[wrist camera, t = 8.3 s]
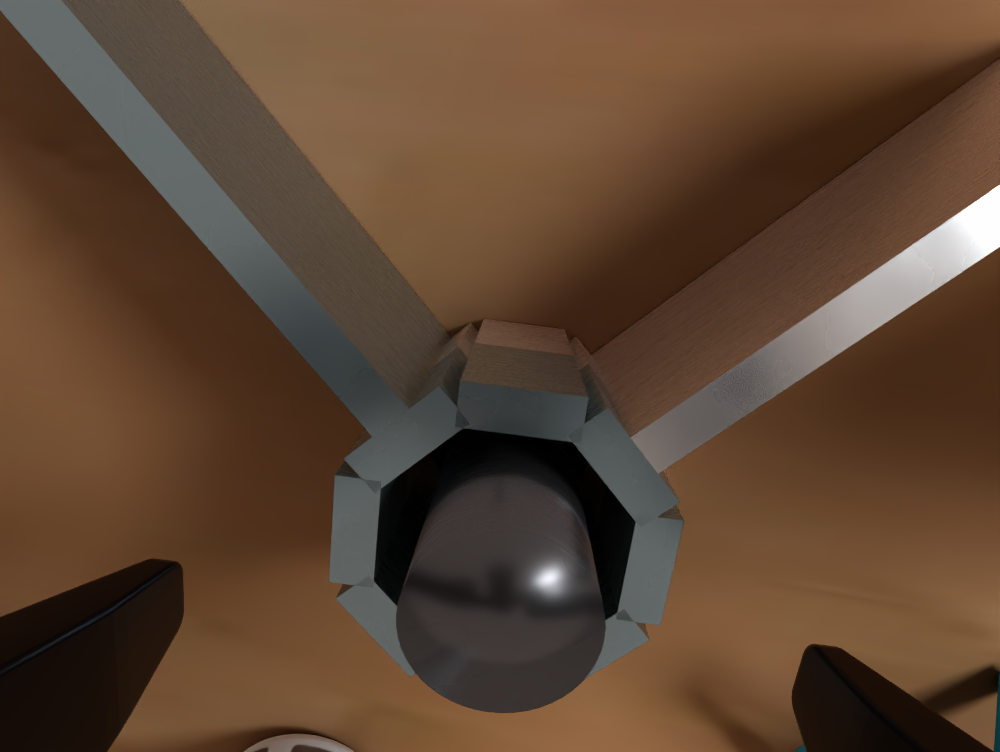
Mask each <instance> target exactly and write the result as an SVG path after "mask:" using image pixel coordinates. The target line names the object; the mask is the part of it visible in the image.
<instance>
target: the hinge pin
mask: <svg viewBox="0 0 1000 752" xmlns="http://www.w3.org/2000/svg"><path fill="white" fill-rule="evenodd" d="M396 629H397V636H398V640H399V643H400V646H401V649H402V651H403V654H404V656H405V658H406V660H407V661H408V663H409V665H410V666H411V668H412V669H413V670H414V672H415V673H416V674H417V675H418V676H419V678H420V679H421V680H422V681H423V682H425V683H426V684H427V685H428V686H429V687H430V688H431V689H433V690H434V691H436V692H437V693H438V694H440V695H441V696H443V697H445V698H447V699H449V700H450V701H453V702H455V703H457V704H460V705H462V706H465V707H468V708H472V709H475V710H480V711H486V712H495V713H515V712H522V711H528V710H532V709H536V708H540V707H542V706H545V705H548V704H550V703H553V702H555V701H556V700H558V699H560V698H562V697H564V696H565V695H567V694H568V693H570V692H571V691H572V690H574V689H575V688H576V687H577V686H578V685H579V684H580V683H582V682H583V680H584V679H585V678H586V677H587V676H588V674H589V673H590V672H591V670H592V669H593V667H594V666H595V664H596V662H597V660H598V658H599V656H600V653H601V651H602V647H603V643H604V639H605V630H606V623H605V613H604V608H603V603H602V598H601V593H600V588H599V583H598V578H597V573H596V568H595V563H594V558H593V553H592V548H591V543H590V538H589V533H588V528H587V523H586V518H585V513H584V508H583V503H582V498H581V493H580V488H579V483H578V478H577V473H576V468H575V463H574V458H573V453H572V448H571V443H570V442H567V441H560V440H552V439H544V438H536V437H529V436H521V435H513V434H505V433H498V432H490V431H482V430H474V429H467V428H463V429H461V430H460V431H458V432H457V433H456V434H454V435H453V436H452V439H451V442H450V445H449V448H448V451H447V454H446V457H445V460H444V463H443V466H442V469H441V472H440V475H439V478H438V481H437V484H436V487H435V490H434V494H433V497H432V500H431V503H430V506H429V509H428V512H427V515H426V518H425V521H424V524H423V527H422V530H421V533H420V536H419V539H418V542H417V545H416V548H415V552H414V555H413V558H412V561H411V564H410V567H409V570H408V573H407V576H406V579H405V582H404V585H403V588H402V591H401V594H400V597H399V600H398V605H397V611H396Z"/></svg>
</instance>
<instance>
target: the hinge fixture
mask: <svg viewBox="0 0 1000 752" xmlns="http://www.w3.org/2000/svg"><path fill="white" fill-rule="evenodd" d="M0 11H1V12H2V13H3V14H4V15H5V17H6V18H7V19H8V20H9V21H10V22H11V23H12V25H13V26H14V27H15V28H16V29H17V30H18V31H19V33H20V34H21V35H22V36H23V37H24V38H25V40H26V41H27V42H28V43H29V44H30V45H31V46H32V48H33V49H34V50H35V51H36V52H37V53H38V54H39V56H40V57H41V58H42V59H43V60H44V61H45V62H46V64H47V65H48V66H49V67H50V68H51V69H52V70H53V72H54V73H55V74H56V75H57V76H58V77H59V78H60V80H61V81H62V82H63V83H64V84H65V85H66V86H67V88H68V89H69V90H70V91H71V92H72V93H73V94H74V96H75V97H76V98H77V99H78V100H79V101H80V103H81V104H82V105H83V106H84V107H85V108H86V109H87V111H88V112H89V113H90V114H91V115H92V116H93V117H94V119H95V120H96V121H97V122H98V123H99V124H100V125H101V127H102V128H103V129H104V130H105V131H106V132H107V133H108V135H109V136H110V137H111V138H112V139H113V140H114V141H115V143H116V144H117V145H118V146H119V147H120V148H121V149H122V151H123V152H124V153H125V154H126V155H127V156H128V157H129V159H130V160H131V161H132V162H133V163H134V164H135V165H136V167H137V168H138V169H139V170H140V171H141V172H142V174H143V175H144V176H145V177H146V178H147V179H148V180H149V182H150V183H151V184H152V185H153V186H154V187H155V188H156V190H157V191H158V192H159V193H160V194H161V195H162V196H163V198H164V199H165V200H166V201H167V202H168V203H169V204H170V206H171V207H172V208H173V209H174V210H175V211H176V212H177V214H178V215H179V216H180V217H181V218H182V219H183V220H184V222H185V223H186V224H187V225H188V226H189V227H190V228H191V230H192V231H193V232H194V233H195V234H196V235H197V236H198V238H199V239H200V240H201V241H202V242H203V243H204V245H205V246H206V247H207V248H208V249H209V250H210V251H211V253H212V254H213V255H214V256H215V257H216V258H217V259H218V261H219V262H220V263H221V264H222V265H223V266H224V267H225V269H226V270H227V271H228V272H229V273H230V274H231V275H232V277H233V278H234V279H235V280H236V281H237V282H238V283H239V285H240V286H241V287H242V288H243V289H244V290H245V291H246V293H247V294H248V295H249V296H250V297H251V298H252V299H253V301H254V302H255V303H256V304H257V305H258V306H259V308H260V309H261V310H262V311H263V312H264V313H265V314H266V316H267V317H268V318H269V319H270V320H271V321H272V322H273V324H274V325H275V326H276V327H277V328H278V329H279V330H280V332H281V333H282V334H283V335H284V336H285V337H286V338H287V340H288V341H289V342H290V343H291V344H292V345H293V346H294V348H295V349H296V350H297V351H298V352H299V353H300V354H301V356H302V357H303V358H304V359H305V360H306V361H307V362H308V364H309V365H310V366H311V367H312V368H313V369H314V370H315V372H316V373H317V374H318V375H319V376H320V377H321V379H322V380H323V381H324V382H325V383H326V384H327V385H328V387H329V388H330V389H331V390H332V391H333V392H334V393H335V395H336V396H337V397H338V398H339V399H340V400H341V401H342V403H343V404H344V405H345V406H346V407H347V408H348V409H349V411H350V412H351V413H352V414H353V415H354V416H355V417H356V419H357V420H358V421H359V422H360V423H361V424H362V425H363V427H364V428H365V431H364V432H363V433H362V435H361V436H360V437H359V439H358V440H357V441H356V443H355V444H354V445H353V447H352V448H351V449H350V451H349V452H348V453H347V455H346V456H345V458H344V460H345V462H344V463H343V465H342V466H341V468H340V469H339V470H338V472H337V473H336V474H335V481H334V499H333V518H332V536H331V555H330V573H329V582H332V583H340V584H343V585H342V587H341V589H340V591H339V593H338V595H337V597H336V600H337V601H338V602H339V603H340V604H341V605H342V606H343V607H344V608H345V609H346V610H347V611H348V612H349V613H350V614H351V616H352V617H353V618H354V619H355V620H356V621H357V622H358V623H359V624H360V625H361V626H362V627H363V628H364V629H365V630H366V631H367V632H368V633H369V634H370V636H371V637H372V638H373V639H374V640H375V641H376V642H377V643H378V644H379V645H380V646H381V647H382V648H383V649H384V650H385V651H386V652H387V653H388V654H389V656H390V657H391V658H392V659H393V660H394V661H395V662H396V663H397V664H398V665H399V666H400V667H401V668H402V669H403V670H404V671H405V672H406V673H407V674H408V676H409V677H411V676H413V675H414V674H416V673H415V672H414V670H413V669H412V668H411V666H410V665H409V663H408V661H407V660H406V658H405V656H404V654H403V651H402V649H401V646H400V643H399V640H398V636H397V629H396V611H397V605H398V600H399V597H400V594H401V591H402V588H403V585H404V582H405V579H406V576H407V573H408V570H409V567H410V564H411V561H412V558H413V555H414V552H415V548H416V545H417V542H418V539H419V536H420V533H421V530H422V527H423V524H424V521H425V518H426V515H427V512H428V509H429V506H430V503H431V500H432V497H433V494H434V490H435V487H436V484H437V481H438V478H439V475H440V472H441V469H440V468H439V467H438V466H437V465H436V464H435V462H434V461H433V460H432V459H431V458H430V457H429V455H428V454H429V453H430V452H431V451H433V450H434V449H435V448H437V447H438V446H439V445H441V444H442V443H444V442H445V441H446V440H448V439H449V438H450V437H452V436H453V435H454V434H456V433H457V432H458V431H460V430H461V429H463V428H467V429H474V430H482V431H490V432H498V433H505V434H513V435H521V436H529V437H536V438H544V439H552V440H560V441H567V442H573V443H574V445H575V446H576V447H577V448H578V450H579V451H580V452H581V453H582V455H583V456H584V457H585V458H586V460H587V463H586V468H585V474H583V475H582V476H580V477H579V478H578V483H579V488H580V493H581V498H582V503H583V508H584V513H585V518H586V523H587V528H588V533H589V538H590V543H591V548H592V553H593V558H594V563H595V568H596V573H597V578H598V583H599V588H600V593H601V598H602V603H603V608H604V613H605V623H606V630H605V639H604V643H603V647H602V651H601V653H600V656H599V658H598V660H597V662H596V664H595V666H594V667H593V669H592V670H591V672H590V673H589V674H588V676H587V677H589V676H590V675H592V674H594V673H595V672H597V671H599V670H600V669H602V668H604V667H605V666H607V665H609V664H610V663H612V662H614V661H615V660H617V659H619V658H620V657H622V656H624V655H625V654H627V653H629V652H630V651H632V650H634V649H635V648H637V647H638V646H640V645H642V644H643V643H645V642H647V641H648V640H649V637H648V633H647V630H646V627H645V623H646V624H653V625H661V620H662V616H663V612H664V607H665V603H666V598H667V594H668V589H669V585H670V581H671V576H672V572H673V567H674V563H675V559H676V554H677V550H678V545H679V541H680V536H681V532H682V528H683V523H684V520H683V518H682V516H681V514H680V512H679V510H678V508H677V506H676V504H678V503H680V501H679V499H678V498H677V496H676V494H675V492H674V490H673V488H672V487H671V485H670V483H669V481H668V479H667V477H666V475H665V474H664V472H663V470H665V469H666V468H668V467H669V466H671V465H672V464H674V463H675V462H677V461H678V460H680V459H681V458H683V457H684V456H686V455H687V454H689V453H690V452H692V451H693V450H695V449H696V448H698V447H699V446H701V445H702V444H704V443H705V442H707V441H708V440H710V439H711V438H713V437H714V436H716V435H717V434H719V433H720V432H722V431H723V430H725V429H726V428H728V427H729V426H731V425H732V424H734V423H735V422H737V421H738V420H740V419H741V418H743V417H744V416H746V415H747V414H749V413H750V412H752V411H753V410H755V409H756V408H758V407H759V406H761V405H762V404H764V403H765V402H767V401H768V400H770V399H772V398H773V397H775V396H776V395H778V394H779V393H781V392H782V391H784V390H785V389H787V388H788V387H790V386H791V385H793V384H794V383H796V382H797V381H799V380H800V379H802V378H803V377H805V376H806V375H808V374H809V373H811V372H812V371H814V370H815V369H817V368H818V367H820V366H821V365H823V364H824V363H826V362H827V361H829V360H830V359H832V358H833V357H835V356H836V355H838V354H839V353H841V352H842V351H844V350H845V349H847V348H848V347H850V346H851V345H853V344H854V343H856V342H857V341H859V340H860V339H862V338H863V337H865V336H866V335H868V334H869V333H871V332H872V331H874V330H875V329H877V328H878V327H880V326H881V325H883V324H884V323H886V322H887V321H889V320H890V319H892V318H893V317H895V316H897V315H898V314H900V313H901V312H903V311H904V310H906V309H907V308H909V307H910V306H912V305H913V304H915V303H916V302H918V301H919V300H921V299H922V298H924V297H925V296H927V295H928V294H930V293H931V292H933V291H934V290H936V289H937V288H939V287H940V286H942V285H943V284H945V283H946V282H948V281H949V280H951V279H952V278H954V277H955V276H957V275H958V274H960V273H961V272H963V271H964V270H966V269H967V268H969V267H970V266H972V265H973V264H975V263H976V262H978V261H979V260H981V259H982V258H984V257H985V256H987V255H988V254H990V253H991V252H993V251H994V250H996V249H997V248H999V247H1000V58H999V59H998V60H997V61H995V62H994V63H993V64H991V65H990V66H988V67H987V68H986V69H984V70H983V71H982V72H980V73H979V74H977V75H976V76H975V77H973V78H972V79H971V80H969V81H968V82H966V83H965V84H964V85H962V86H961V87H960V88H958V89H957V90H955V91H954V92H953V93H951V94H950V95H949V96H947V97H946V98H944V99H943V100H942V101H940V102H939V103H938V104H936V105H935V106H933V107H932V108H931V109H929V110H928V111H927V112H925V113H924V114H922V115H921V116H920V117H918V118H917V119H916V120H914V121H913V122H911V123H910V124H909V125H907V126H906V127H905V128H903V129H902V130H900V131H899V132H898V133H896V134H895V135H894V136H892V137H891V138H889V139H888V140H887V141H885V142H884V143H883V144H881V145H880V146H878V147H877V148H876V149H874V150H873V151H872V152H870V153H869V154H867V155H866V156H865V157H863V158H862V159H861V160H859V161H858V162H856V163H855V164H854V165H852V166H851V167H850V168H848V169H847V170H845V171H844V172H843V173H841V174H840V175H839V176H837V177H836V178H834V179H833V180H832V181H830V182H829V183H828V184H826V185H825V186H823V187H822V188H821V189H819V190H818V191H817V192H815V193H814V194H812V195H811V196H810V197H808V198H807V199H806V200H804V201H803V202H801V203H800V204H799V205H797V206H796V207H795V208H793V209H792V210H790V211H789V212H788V213H786V214H785V215H784V216H782V217H781V218H779V219H778V220H777V221H775V222H774V223H773V224H771V225H770V226H768V227H767V228H766V229H764V230H763V231H761V232H760V233H759V234H757V235H756V236H755V237H753V238H752V239H750V240H749V241H748V242H746V243H745V244H744V245H742V246H741V247H739V248H738V249H737V250H735V251H734V252H733V253H731V254H730V255H728V256H727V257H726V258H724V259H723V260H722V261H720V262H719V263H717V264H716V265H715V266H713V267H712V268H711V269H709V270H708V271H706V272H705V273H704V274H702V275H701V276H700V277H698V278H697V279H695V280H694V281H693V282H691V283H690V284H689V285H687V286H686V287H684V288H683V289H682V290H680V291H679V292H678V293H676V294H675V295H673V296H672V297H671V298H669V299H668V300H667V301H665V302H664V303H662V304H661V305H660V306H658V307H657V308H656V309H654V310H653V311H651V312H650V313H649V314H647V315H646V316H645V317H643V318H642V319H640V320H639V321H638V322H636V323H635V324H634V325H632V326H631V327H629V328H628V329H627V330H625V331H624V332H623V333H621V334H620V335H618V336H617V337H616V338H614V339H613V340H612V341H610V342H609V343H607V344H606V345H605V346H603V347H602V348H601V349H599V350H598V351H596V352H595V353H594V354H592V355H590V353H589V352H588V351H587V349H586V348H585V347H584V345H583V344H582V343H581V341H580V340H579V339H578V338H577V336H576V337H574V338H573V339H572V340H570V341H569V340H568V338H567V335H566V332H565V329H559V328H551V327H543V326H535V325H527V324H520V323H512V322H504V321H496V320H488V319H484V320H483V323H482V325H481V328H480V330H479V332H478V331H477V330H476V328H475V327H474V326H473V325H472V323H469V324H468V325H467V326H466V327H464V328H463V329H462V330H460V331H459V332H458V333H457V334H455V335H454V336H453V337H451V336H450V335H449V334H448V333H447V331H446V330H445V329H444V328H443V326H442V325H441V324H440V323H439V322H438V320H437V319H436V318H435V317H434V315H433V314H432V313H431V312H430V310H429V309H428V308H427V307H426V305H425V304H424V303H423V302H422V301H421V299H420V298H419V297H418V296H417V294H416V293H415V292H414V291H413V289H412V288H411V287H410V286H409V284H408V283H407V282H406V281H405V279H404V278H403V277H402V276H401V275H400V273H399V272H398V271H397V270H396V268H395V267H394V266H393V265H392V263H391V262H390V261H389V260H388V258H387V257H386V256H385V255H384V254H383V252H382V251H381V250H380V249H379V247H378V246H377V245H376V244H375V242H374V241H373V240H372V239H371V237H370V236H369V235H368V234H367V233H366V231H365V230H364V229H363V228H362V226H361V225H360V224H359V223H358V221H357V220H356V219H355V218H354V216H353V215H352V214H351V213H350V211H349V210H348V209H347V208H346V207H345V205H344V204H343V203H342V202H341V200H340V199H339V198H338V197H337V195H336V194H335V193H334V192H333V190H332V189H331V188H330V187H329V186H328V184H327V183H326V182H325V181H324V179H323V178H322V177H321V176H320V174H319V173H318V172H317V171H316V169H315V168H314V167H313V166H312V165H311V163H310V162H309V161H308V160H307V158H306V157H305V156H304V155H303V153H302V152H301V151H300V150H299V148H298V147H297V146H296V145H295V143H294V142H293V141H292V140H291V139H290V137H289V136H288V135H287V134H286V132H285V131H284V130H283V129H282V127H281V126H280V125H279V124H278V122H277V121H276V120H275V119H274V118H273V116H272V115H271V114H270V113H269V111H268V110H267V109H266V108H265V106H264V105H263V104H262V103H261V101H260V100H259V99H258V98H257V97H256V95H255V94H254V93H253V92H252V90H251V89H250V88H249V87H248V85H247V84H246V83H245V82H244V80H243V79H242V78H241V77H240V75H239V74H238V73H237V72H236V71H235V69H234V68H233V67H232V66H231V64H230V63H229V62H228V61H227V59H226V58H225V57H224V56H223V54H222V53H221V52H220V51H219V50H218V48H217V47H216V46H215V45H214V43H213V42H212V41H211V40H210V38H209V37H208V36H207V35H206V33H205V32H204V31H203V30H202V29H201V27H200V26H199V25H198V24H197V22H196V21H195V20H194V19H193V17H192V16H191V15H190V14H189V12H188V11H187V10H186V9H185V7H184V6H183V5H182V4H181V3H180V1H179V0H0ZM587 677H586V678H587Z"/></svg>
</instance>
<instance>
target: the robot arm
mask: <svg viewBox="0 0 1000 752" xmlns="http://www.w3.org/2000/svg"><path fill="white" fill-rule="evenodd" d="M183 614H184V591H183V569H182V566H181V565H180V564H179V563H178V562H176V561H169V560H162V559H148V560H145V561H142V562H140V563H137V564H135V565H132V566H130V567H127V568H124V569H122V570H119V571H117V572H114V573H112V574H109V575H107V576H104V577H101V578H99V579H96V580H94V581H91V582H89V583H86V584H84V585H81V586H78V587H76V588H73V589H71V590H68V591H66V592H63V593H61V594H58V595H55V596H53V597H50V598H48V599H45V600H43V601H40V602H38V603H35V604H32V605H30V606H27V607H25V608H22V609H20V610H17V611H14V612H12V613H9V614H7V615H4V616H2V617H0V752H107V751H108V750H109V748H110V747H111V745H112V744H113V742H114V741H115V739H116V738H117V736H118V735H119V733H120V732H121V730H122V728H123V727H124V725H125V723H126V722H127V720H128V718H129V717H130V715H131V713H132V712H133V710H134V708H135V706H136V704H137V703H138V701H139V699H140V697H141V696H142V694H143V692H144V690H145V688H146V687H147V685H148V683H149V681H150V680H151V678H152V676H153V674H154V672H155V671H156V669H157V667H158V665H159V664H160V662H161V660H162V658H163V656H164V655H165V653H166V651H167V649H168V648H169V646H170V644H171V642H172V640H173V639H174V637H175V635H176V633H177V632H178V630H179V628H180V625H181V623H182V619H183ZM792 706H793V710H794V714H795V717H796V720H797V723H798V726H799V730H800V733H801V736H802V739H803V742H804V745H805V749H806V752H994V751H992V750H991V749H989V748H988V747H986V746H985V745H983V744H982V743H980V742H979V741H977V740H976V739H974V738H973V737H971V736H970V735H969V734H967V733H966V732H964V731H963V730H961V729H960V728H958V727H957V726H955V725H954V724H952V723H951V722H949V721H948V720H946V719H945V718H943V717H942V716H940V715H939V714H937V713H936V712H935V711H933V710H932V709H930V708H929V707H927V706H926V705H924V704H923V703H921V702H920V701H918V700H917V699H915V698H914V697H912V696H911V695H909V694H908V693H906V692H905V691H904V690H902V689H901V688H899V687H898V686H896V685H895V684H893V683H892V682H890V681H889V680H887V679H886V678H884V677H883V676H881V675H880V674H878V673H877V672H875V671H874V670H872V669H871V668H870V667H868V666H867V665H865V664H864V663H862V662H861V661H859V660H858V659H856V658H855V657H853V656H852V655H850V654H849V653H847V652H846V651H844V650H843V649H841V648H838V647H834V646H827V645H819V644H811V645H809V646H807V648H806V649H805V651H804V653H803V656H802V659H801V663H800V666H799V669H798V673H797V676H796V679H795V683H794V686H793V690H792Z"/></svg>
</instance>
